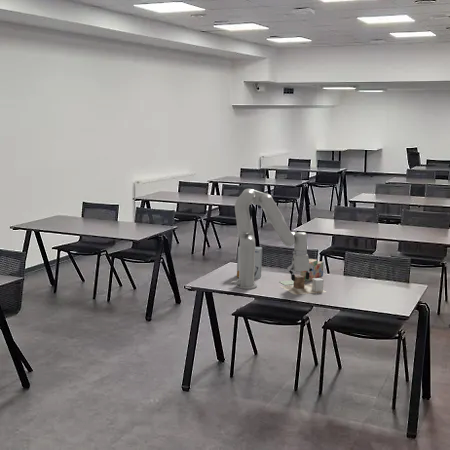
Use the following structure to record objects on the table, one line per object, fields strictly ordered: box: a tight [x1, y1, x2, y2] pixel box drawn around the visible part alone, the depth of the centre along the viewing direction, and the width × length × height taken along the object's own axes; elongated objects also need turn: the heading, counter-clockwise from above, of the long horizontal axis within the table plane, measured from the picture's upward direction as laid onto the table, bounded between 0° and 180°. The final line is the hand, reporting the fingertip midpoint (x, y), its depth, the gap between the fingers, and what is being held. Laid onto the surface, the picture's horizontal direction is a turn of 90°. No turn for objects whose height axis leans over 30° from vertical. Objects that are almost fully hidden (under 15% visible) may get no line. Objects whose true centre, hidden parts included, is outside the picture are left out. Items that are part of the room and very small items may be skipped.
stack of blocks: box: [300, 258, 324, 282], centre depth 406 cm, size 21×6×12 cm, turn 146°
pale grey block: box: [311, 277, 324, 292], centre depth 374 cm, size 5×5×7 cm
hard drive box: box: [236, 246, 263, 280], centre depth 404 cm, size 16×8×20 cm, turn 77°
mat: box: [278, 279, 294, 286], centre depth 391 cm, size 12×9×1 cm
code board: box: [279, 283, 327, 296], centre depth 376 cm, size 22×20×1 cm
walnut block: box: [293, 274, 306, 289], centre depth 379 cm, size 5×5×7 cm
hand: (300, 279), depth 379 cm, fingers open, 9 cm apart
